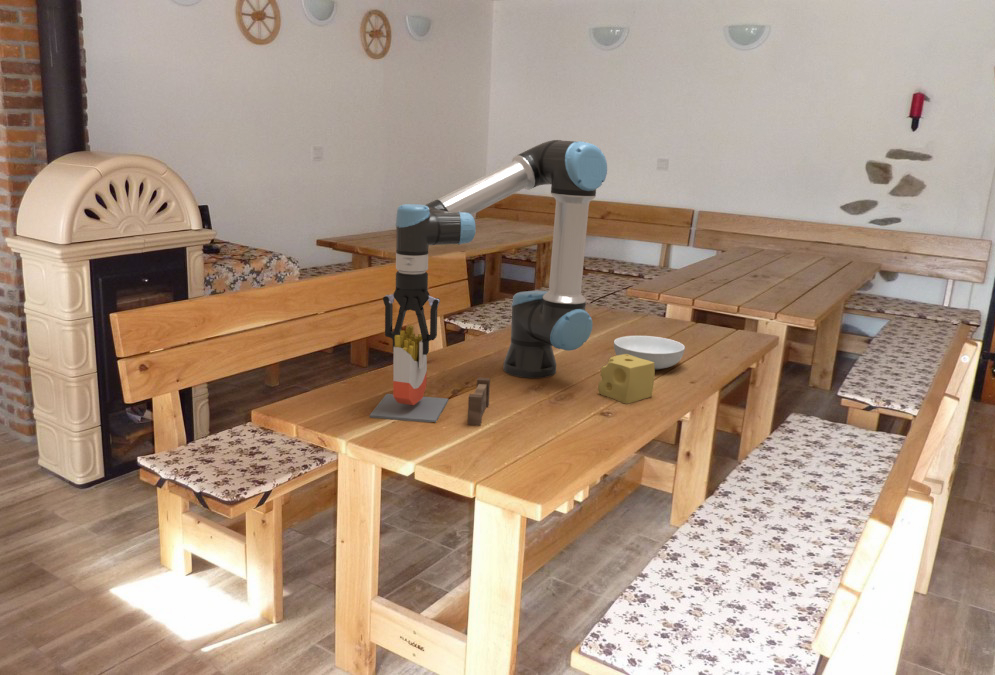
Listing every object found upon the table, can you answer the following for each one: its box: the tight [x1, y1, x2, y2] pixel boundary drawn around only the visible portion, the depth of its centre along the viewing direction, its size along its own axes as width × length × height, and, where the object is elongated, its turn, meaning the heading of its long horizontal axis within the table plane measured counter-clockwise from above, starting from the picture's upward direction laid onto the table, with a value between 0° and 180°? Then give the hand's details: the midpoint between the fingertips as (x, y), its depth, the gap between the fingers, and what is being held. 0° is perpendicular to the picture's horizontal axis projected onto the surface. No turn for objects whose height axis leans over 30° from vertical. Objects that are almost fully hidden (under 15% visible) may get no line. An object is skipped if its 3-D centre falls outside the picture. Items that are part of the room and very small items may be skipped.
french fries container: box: [392, 325, 428, 405], centre depth 201 cm, size 5×11×18 cm, turn 163°
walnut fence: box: [467, 376, 491, 427], centre depth 201 cm, size 15×3×7 cm, turn 173°
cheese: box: [597, 354, 656, 405], centre depth 219 cm, size 10×11×10 cm
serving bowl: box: [613, 335, 686, 371], centre depth 247 cm, size 21×21×7 cm
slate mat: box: [369, 393, 449, 424], centre depth 204 cm, size 16×16×1 cm
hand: (410, 365), depth 201 cm, fingers closed on french fries container, 5 cm apart
